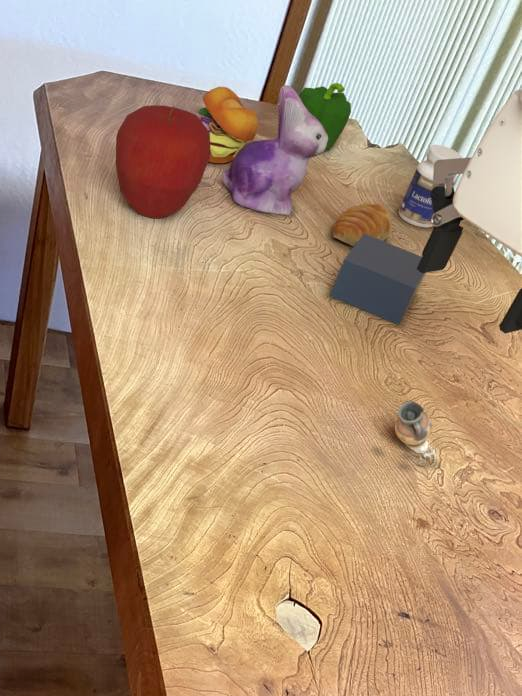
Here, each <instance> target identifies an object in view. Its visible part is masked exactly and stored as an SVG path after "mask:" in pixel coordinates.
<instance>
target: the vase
mask: <svg viewBox="0 0 522 696" xmlns="http://www.w3.org/2000/svg"><path fill="white" fill-rule="evenodd" d="M395 395H396V394H395ZM396 397H398V395H396ZM396 400H398V398H396ZM432 426H433V425H432V420H431V417H430V416H429V414H428V413H427V412H425V411H424V409H423V407H422V406H421V405H420V404H419V403H417V402H415V401H413V400H408V401H405V402H403V403H402V404H401V405H400V406H399V407H398V410H397V418H396V420H395V423H394V431H395V435H396V437H397V438H398V439H399V441H401V442H402V443H403V444H404V445H405V446H406V447H407V448H409V449H410V450H412V451H413V452H415V453H417V454H421V455H419V459H420V460H422V459H423V458H425V459H427V458H429V460H428V461H429V462H431V461H432V460H433V462H434V463H436V461H437V459H438V457H437V454H436V452H435V451H434V447H433V448H432V446H430V447H429V444H430V443H429V440H428V439H429V437H430V435H431V432H432V428H433V427H432ZM434 443H435V444H436V442H434ZM432 456H433V458H432ZM431 458H432V459H431ZM421 463H422V461H420V462H419V464H421ZM424 463H427V461H424Z"/></svg>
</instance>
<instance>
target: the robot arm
mask: <svg viewBox="0 0 522 696" xmlns="http://www.w3.org/2000/svg"><path fill="white" fill-rule="evenodd" d="M456 175H457V176H458V175H461V177H460V179H459V181H458V182H457V183H458V184H457V185H456V188H454V186H453V187H452V183H454V177H455V176H456ZM433 185H434V188H433V189H432V191H431V200H432V205H433V211H434V214H433V215H432V218H431V222H432V224H433V226H432V227H433V229H432V231H431V232H430V235H429V237H428V239H427V242H426V244H425V245H424V248H423V250H422V252H421V256H422V258H421V260H420V262H419V264H418V267H417V270H418V271H420V272H421V273H426V274H428V273H433V272H438V271H443V270H445V269H446V267H447V266H448V263H449V261H450V259H451V257H452V255H453V252H454V251H455V249H456V247H457V245H458V243H459V241H460V238H461V237H462V235H463V230H464V227H463V226H461V223H463V222H465V221H466V222H467V223H469V224H470V225H471V226H473V227H475V228H476V229H478V230H479V231H481V232H482V233H483V234H485V235H487V236H489V237H490V238H491V239H493V240H495V242H498V243H499V244H501V245H502V246H503V247H505V248H507V249H508V250H510V251H512V252H513V253H515V254H516V255H518V256H519V257H521V258H522V89H517V90H516V89H515V90H514V91H513V93H512V94H511V95H510V96H509V97H508V99H507V100H506V102H505V103H504V104H503V106H502V107H501V109H500V110H499V111H498V113H497V114H496V116H495V117H494V119H493V120H492V122H491V123H490V125H489V127H488V128H487V130H486V131H485V133H484V135H483V136H482V138H481V139H480V141H479V143H478V145H477V146H476V148H475V150H474V151H473V153H472V155H471V156H469V157H462V158H456V159H443V160H437V161H436V162H435V164H434V173H433ZM498 327H499V331H501V332H502V333H504V334H508V333H513V332H517V331H522V287H521V288H520V289H519V290H518V292H517V294H516V295H515V297H514V299H513V301H512V302H511V304H510V306H509V307H508V309H507V311H506V312H505V315H504V317H503V319H502V320H501V322H500V324H499V326H498Z"/></svg>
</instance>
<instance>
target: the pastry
mask: <svg viewBox="0 0 522 696" xmlns="http://www.w3.org/2000/svg"><path fill="white" fill-rule="evenodd" d="M331 233H332V238H334V239H337V240H339V241H341V242H343V243H345V244H347V245H349V246H352V247H354V246H355V245H356V243H357V242H358V241H359V240H360V238H361V237H362V236H363V234H367V235H369V236H372V237H374V238H377V239H379V240H382V241H384V242H385V240H386V239H387V238H388V237H389V236H391V235H392V233H393V229H392V221H391V214H390V212H389V211H388V210H387V209H386V207H385V206H383V205H381V204H379V203H370V202H368V201H366V202H365V203H361V204H359V205H357V206H352V207H348V209H347V210H344V212H342V213H341V214H340V215H339V216H338V217H337V219H336V221H335V223H334V225H333V228H332V231H331Z"/></svg>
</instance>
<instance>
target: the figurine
mask: <svg viewBox="0 0 522 696" xmlns="http://www.w3.org/2000/svg"><path fill="white" fill-rule="evenodd" d="M277 122H278V123H277V138H274V139H273V138H272V139H263V140H252V141H249V142H247V144H246V145H245V146H244V147H242V148H241V149H240V150H239V152H238V153H237V154H236V156H235V157H234V159H233V161H231V164H230V166H229V168H227V169H225V170H224V171H223V172H222V174H221V178H222V182H223V185H224V186H225V188H227V189H228V191H229V192H230V194H231V196H232V200H233V202H234V203H236V205H238V206H239V207H243V208H247V209H250V210H252V211H256V212H260V213H264V214H266V213H267V214H276V215H281V216H288V215H290V214H291V212H292V209H293V208H292V207H293V205H292V193H294V192H296V191H297V189H298V188H299V187H300V186H302V184H303V182H304V180H305V177H306V174H307V169H308V165H309V162H310V161H309V160H310V159H312V158H315V157H317V156H320V155H322V154H323V153H324V152H325V151H324V150H325V148H326V146H327V142H328V135H327V133H326V132H325V130H324V128H323V126H322V124H321V123H320V122H319V121H318V120H317V119H316V118H315V117H314V116H313V115H311V114H310V113H309V111H308V110H307V109H306V107H305V106H304V104H303V103H302V101H301V99H300V97H299V94H298V93H297V92H296V91H295V89H294V88H293V87H291V86H290V85H288V84H285V85H282V86H281V87H280V89H279V92H278V121H277Z"/></svg>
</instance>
